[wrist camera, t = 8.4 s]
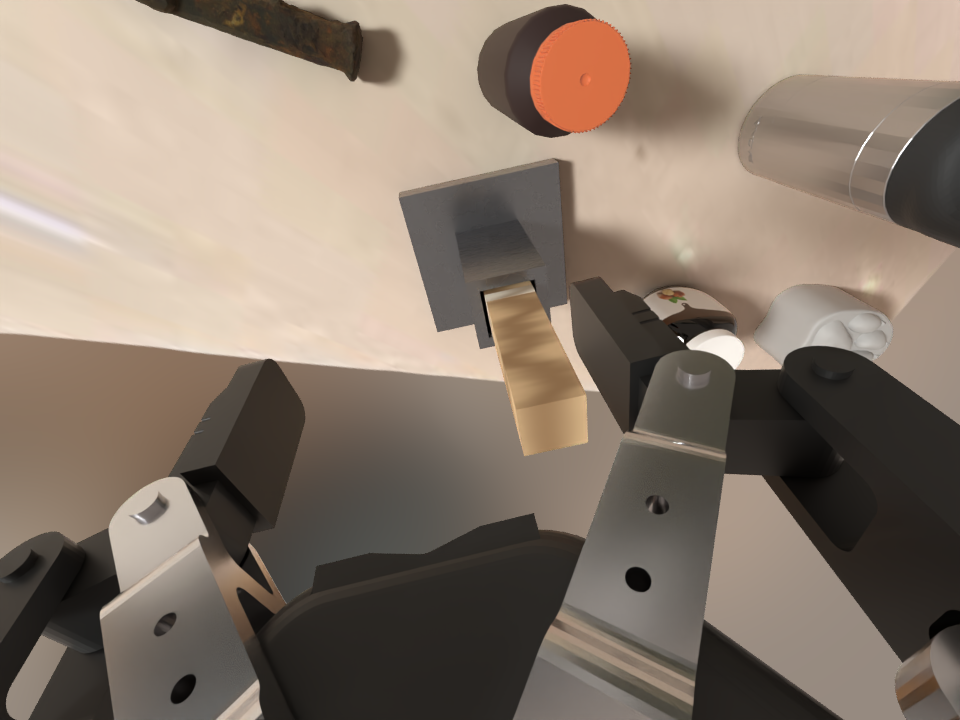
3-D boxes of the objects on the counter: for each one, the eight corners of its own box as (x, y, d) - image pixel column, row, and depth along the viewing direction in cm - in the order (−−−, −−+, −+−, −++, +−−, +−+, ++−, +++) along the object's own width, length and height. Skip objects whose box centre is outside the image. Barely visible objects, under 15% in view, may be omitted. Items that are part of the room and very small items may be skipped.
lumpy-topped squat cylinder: (784, 281, 54) (838, 313, 47) (866, 288, 57) (928, 320, 50) (745, 346, 60) (787, 384, 53) (820, 351, 63) (870, 387, 56)
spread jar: (708, 280, 53) (770, 328, 44) (684, 353, 60) (733, 408, 50) (617, 286, 52) (661, 337, 43) (603, 359, 59) (638, 417, 49)
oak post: (518, 256, 39) (586, 394, 23) (523, 294, 42) (588, 442, 26) (476, 265, 39) (515, 409, 23) (483, 302, 42) (524, 456, 26)
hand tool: (367, 27, 35) (361, 23, 31) (359, 82, 37) (352, 84, 33) (96, -82, 30) (49, -103, 26) (105, -12, 32) (63, -22, 28)
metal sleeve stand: (553, 158, 42) (601, 194, 31) (562, 296, 52) (602, 362, 40) (399, 192, 42) (392, 241, 31) (437, 323, 52) (441, 397, 41)
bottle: (488, 124, 40) (535, 169, 24) (467, 37, 36) (506, 21, 20) (556, 99, 39) (652, 129, 23) (543, 9, 35) (647, -31, 19)
